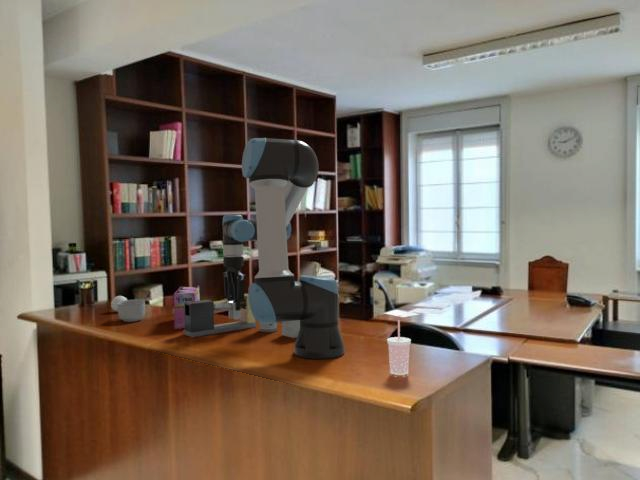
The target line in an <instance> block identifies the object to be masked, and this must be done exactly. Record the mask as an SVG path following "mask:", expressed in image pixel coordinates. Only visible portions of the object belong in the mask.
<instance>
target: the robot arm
mask: <svg viewBox="0 0 640 480" xmlns="http://www.w3.org/2000/svg"><path fill="white" fill-rule="evenodd" d="M319 166H320V165H319V161H318V157H317V155H316V153H315V151H314V150H313V148H312V147H311V146H309V144H307V143H306V142H304V141H302V140H298V139H283V138H272V137H271V138H269V137H254V138H250V139H249V141H247V143H246V145H245V146H244V149H243V153H242V160H241V172H242V177H243V178H246V179H248V184H249V186H250V187H251V188H252V189H253V190H254V199H255V201H254V202H255V217H256V218H255V219H244V217H243V215H241V214H224V215H223V217H222V224H221V225H222V250H223V251H222V255H223V261H222V262H223V267H225V268H226V271H225V272H222V277H223V286H224V287H223V289H224V298H225V299H226V300H227V301H233V300H234V301H233V309H227V310H228V319H232V320H234V321H235V320H239V319H241V301H242V300H244V294H245V279H246V274H245V273H244V274H243V273H242V269H241V268H242V267H244V266H245V264H244V263H245V262H244V260H245V259H244V249H245V247H244V242H249V241H252V242H253V241H254V242H257V255H258V272H257V274H256V275H255V276H254V278H253V280H254V281H253V282H252V283H250V284H249V286H248V292H247V294H248V298H249V304H250V308H251V311H252V314H253V316H254V318H255V321H256V322H258V323H259V324H260V323H273V324H274V323H277V324H278V323H282V322H287V321H298V320H300V329H299V333H298V336H297V337H296V340H295V343H294V347H293V348H294V355H295V356H297V357H300V358H304V359H312V360H313V359H314V360H326V359H333V358H337V357H340V356H343V355H344V354H345V344H344V340H343V336H342V334H341V331H340V327H339V295H340V294H339V287H338V282H337V281H336V279H334V278H330V277H324V276H317V275H315V276H314V275H301V274H300V276H299V277H298V280H295V274H294V273H292V272H291V270H290V269H289V257H288V239H289V238H291V233H292V225H291V220H292V218H293V217H294V214H295V213H296V210H297V209H298V207H299V205H300V203H301V201H302V200H303V197H304V196H305V194H306V191H307V190H308V189H309V188H311V187H312V186H313V185H314V184H315V182H316V179H317V177H318V175H319Z"/></svg>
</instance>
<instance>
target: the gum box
mask: <svg viewBox="0 0 640 480" xmlns="http://www.w3.org/2000/svg"><path fill="white" fill-rule="evenodd" d="M200 297H201V296H200V285H196V286H195V287H193V286H190V287H189V286H185V285H181V286H179V288H178V289H177V290H176V291H175V292H174V293H173V305H174V306H173V310H174V311H173V313H174V314H173V315H174V316H173V319H174V323H173V324H174V329H175V330H177V329H179V330H183V329H182V328H185V319H184V302H192V301H201V299H200Z"/></svg>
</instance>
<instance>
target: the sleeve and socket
mask: <svg viewBox="0 0 640 480" xmlns="http://www.w3.org/2000/svg"><path fill="white" fill-rule="evenodd" d="M244 299H246V307H241V319H238V320H239V321H238V322H242V323H245V324H251V323H256V319H255V318H254V316H253V314H252V311H251V308H250V304H249V298H248V293H244ZM214 303H215V301H214V300H210V299H203V300H201V299H200V301H192V302H184V319H185V329H184V330H185V331H188V332H197V331H204V330H210V329H214V325H215V311H214Z"/></svg>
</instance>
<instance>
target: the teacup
mask: <svg viewBox="0 0 640 480" xmlns="http://www.w3.org/2000/svg"><path fill="white" fill-rule="evenodd" d="M117 306H118V312H117V314H118V318H119V319H120V320H122V321H123V322H126V323H133V322H138V321H141V320H142V319H143V318H144V316H145V314H146V300H145V299H139V298H137V299H136V298H135V299H127V300H126V301H125V300H124V301H121V302H118V303H117Z"/></svg>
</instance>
